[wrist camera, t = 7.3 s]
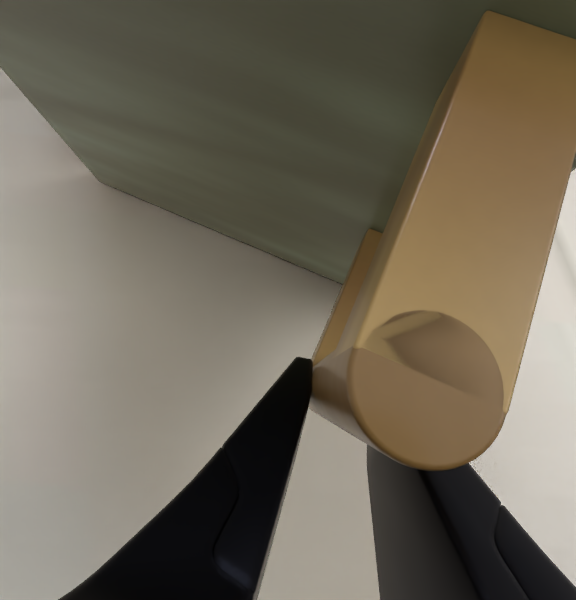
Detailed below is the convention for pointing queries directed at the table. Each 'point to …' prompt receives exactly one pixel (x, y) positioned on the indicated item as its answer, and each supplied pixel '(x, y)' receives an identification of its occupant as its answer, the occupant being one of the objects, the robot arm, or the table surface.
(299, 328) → the table surface
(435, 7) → the door
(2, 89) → the table surface
